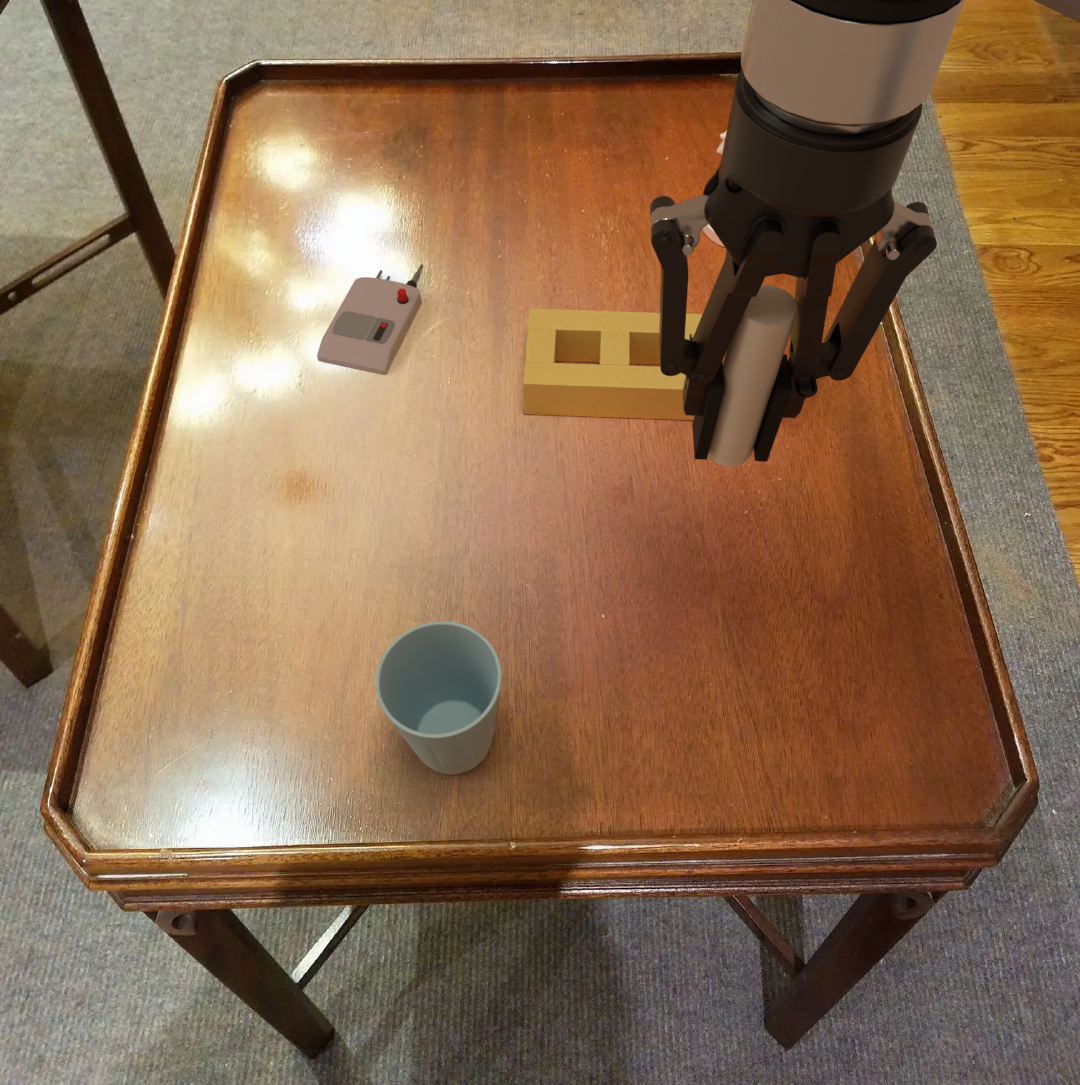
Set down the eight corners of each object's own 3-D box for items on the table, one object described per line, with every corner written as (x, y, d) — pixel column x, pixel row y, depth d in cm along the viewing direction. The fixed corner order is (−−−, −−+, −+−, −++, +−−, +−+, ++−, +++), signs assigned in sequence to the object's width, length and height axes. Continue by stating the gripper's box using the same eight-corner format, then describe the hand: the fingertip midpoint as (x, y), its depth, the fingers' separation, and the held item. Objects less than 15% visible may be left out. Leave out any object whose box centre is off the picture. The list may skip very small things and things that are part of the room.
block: (530, 340, 85) (529, 308, 81) (766, 348, 84) (775, 316, 80) (524, 414, 80) (523, 383, 76) (774, 423, 79) (784, 392, 76)
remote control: (310, 377, 83) (303, 354, 80) (373, 263, 91) (368, 239, 88) (379, 392, 82) (373, 369, 79) (436, 275, 90) (433, 251, 87)
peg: (749, 430, 58) (794, 284, 48) (753, 468, 56) (800, 326, 46) (702, 428, 58) (736, 283, 48) (704, 466, 56) (741, 324, 46)
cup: (382, 775, 63) (356, 719, 54) (418, 676, 67) (399, 608, 58) (488, 803, 62) (480, 750, 53) (518, 700, 66) (515, 635, 57)
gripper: (1012, 33, 38) (851, 400, 58) (630, 25, 39) (600, 392, 59) (1058, 143, 35) (868, 497, 54) (632, 133, 35) (599, 488, 55)
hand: (729, 442), depth 57 cm, fingers closed on peg, 3 cm apart
